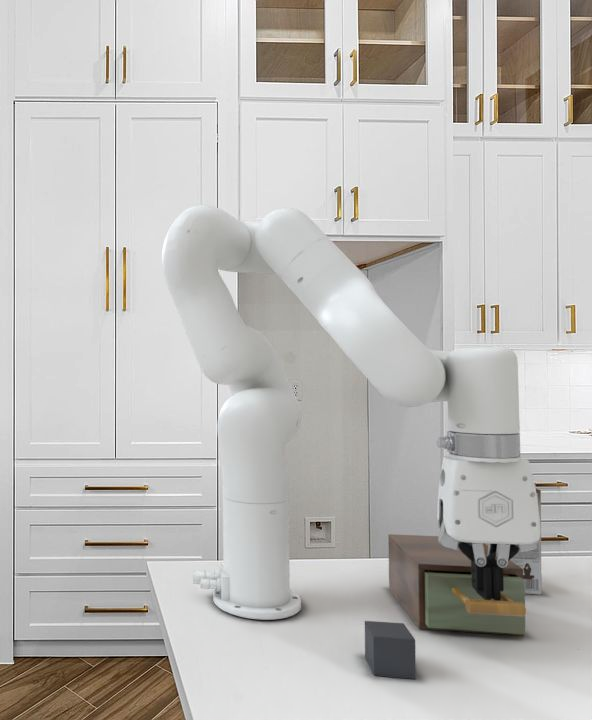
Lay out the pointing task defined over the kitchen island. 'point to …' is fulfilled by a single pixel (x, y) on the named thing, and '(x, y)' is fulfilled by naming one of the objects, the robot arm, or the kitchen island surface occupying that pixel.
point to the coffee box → (531, 562)
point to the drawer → (473, 604)
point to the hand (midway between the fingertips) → (487, 596)
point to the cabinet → (426, 554)
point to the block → (390, 649)
